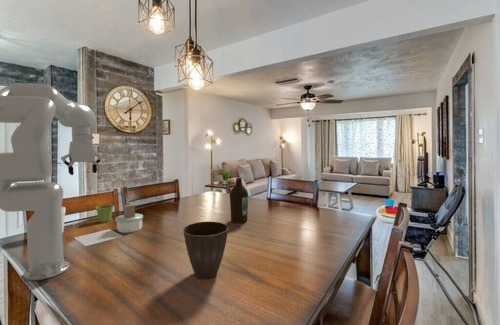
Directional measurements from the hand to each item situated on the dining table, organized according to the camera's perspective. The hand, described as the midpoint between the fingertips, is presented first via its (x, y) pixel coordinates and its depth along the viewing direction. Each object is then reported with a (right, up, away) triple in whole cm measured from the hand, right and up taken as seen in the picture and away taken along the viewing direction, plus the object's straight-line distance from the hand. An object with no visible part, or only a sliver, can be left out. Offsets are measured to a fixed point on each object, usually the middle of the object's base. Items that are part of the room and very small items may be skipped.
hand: (83, 173), depth 126 cm
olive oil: (+75, -29, +24) cm, 84 cm away
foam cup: (-15, -31, +2) cm, 34 cm away
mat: (+9, -31, -3) cm, 32 cm away
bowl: (+19, -30, +9) cm, 36 cm away
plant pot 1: (-3, -29, +24) cm, 38 cm away
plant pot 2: (+66, -33, -37) cm, 83 cm away
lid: (+19, -24, +8) cm, 31 cm away
